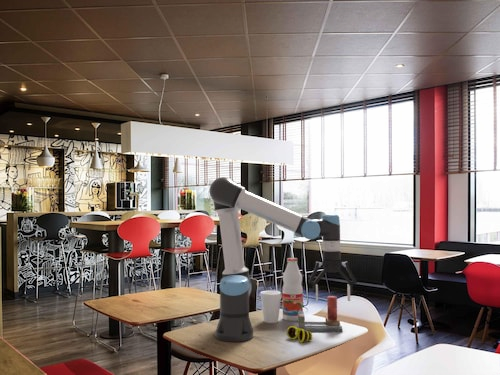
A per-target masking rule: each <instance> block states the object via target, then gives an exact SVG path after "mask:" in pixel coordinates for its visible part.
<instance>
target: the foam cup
mask: <svg viewBox="0 0 500 375" xmlns="http://www.w3.org/2000/svg"><path fill="white" fill-rule="evenodd" d="M281 300H282V292H281V291H279V290H262V291H260V301H261V308H262V315H263V317H262V318H263V321H264V323H268V324H276V323H277V322H279V316H280V308H281V307H280V306H281Z"/></svg>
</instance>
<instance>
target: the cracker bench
mask: <svg viewBox="0 0 500 375" xmlns="http://www.w3.org/2000/svg"><path fill="white" fill-rule="evenodd" d="M305 317H306V316H305V312H304V311H303V312H298V321H297V328H300V329H303V330H306V331H308V332H311V333H312V332H313V333H343V325H341V324H340V326H328V325H327V323H326V321H308V320H307V321H306V320H305Z"/></svg>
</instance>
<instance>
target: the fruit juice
mask: <svg viewBox="0 0 500 375" xmlns="http://www.w3.org/2000/svg"><path fill="white" fill-rule="evenodd" d="M298 261H299V260H298V258H297V257H288V258H287V259H286V262H287V264H286V268H285V270H284V272H283V274H282V281H283V285H282V292H281V294H282V319H283V320H285V321H290V322H298V312H304V310H303V308H304V305H303V304H304V303H303V300H304V298H303V295H304V294H303V291H304V290H303V286H302V282H303V274H302V273H301V271H300V268H299V265H298Z"/></svg>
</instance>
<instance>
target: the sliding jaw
mask: <svg viewBox="0 0 500 375" xmlns="http://www.w3.org/2000/svg"><path fill="white" fill-rule="evenodd" d="M326 300H327V315H325V322H326V323H327V325H328V326H340V325H341V323H340V319H339V317H338V297H337V296H334V295H328V296H327V299H326Z"/></svg>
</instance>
